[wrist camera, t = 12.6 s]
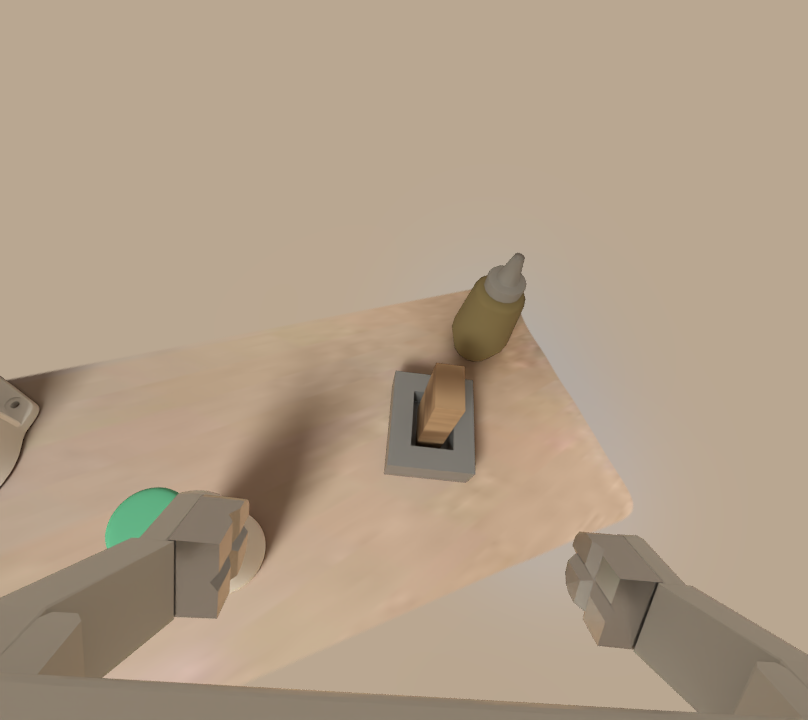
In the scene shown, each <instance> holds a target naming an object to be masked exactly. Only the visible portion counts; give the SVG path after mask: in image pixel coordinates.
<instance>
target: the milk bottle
mask: <svg viewBox="0 0 808 720" xmlns="http://www.w3.org/2000/svg"><path fill="white" fill-rule="evenodd" d="M188 493H198V494H204V495H205V494H208V495H216V496H222V495H219V494H217V493H213V492H209V491H188ZM178 494H179V493H178V492H176V491H173V490H171V489H168V488H161V487H159V488H149V489H145V490H142V491H139V492H137V493H135V494H133V495H132V496H130V497H129V498H127V499H126V500H125V501H124V502H122V503H121V504H120V505H119V507H118V508H117V509H116V510H115V512H114V513H113V515H112V516H111V518H110V520H109V522H108V525H107V528H106V534H105V542H106V547H107V549H108V548H110V547H112V546H115V545H117V544H119V543H121V542H123V541H126V540H128V539H130V538H140V537H141V536H142V534H143V533H144V532H145V531H146V530H147V529H148V528H149V526H150V525H151V524H152V523H153V522H154V521H155V520H156V518H157V517H158V516H159V515H160V514H161V513H162V512H163V510H164V509H165V508H166V507H167V506H168V505H169V504H170V502H171V501H172V500H173V499H174V498H175V497H176V496H177V495H178ZM244 527H245V528H246V529H247V531H248V540H247V547H246V552H245V556H244V559H243V562H242V565H241V568H240V570H239V572H238V574H237V576H235V577H234V578H233V579H231V580H230V592H229V593H232V592H234V591H236V590H238V589H240V588H242V587H243V586H245V585H246V584H247V583H248V582H249V581H250V580H251V579H252V578H253V577H254V576H255V574H256V573H257V572H258V570H259V568H260V566H261V564H262V562H263V559H264V555H265V549H266V542H265V536H264V533H263V530H262V528H261V526H260V525H259V524H258V522H257V521H256V520H255V519H254V518H253V517H251V516H250V515H249V516H248V518H247V520H246V522H245V524H244Z"/></svg>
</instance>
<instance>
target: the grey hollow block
mask: <svg viewBox="0 0 808 720" xmlns="http://www.w3.org/2000/svg"><path fill="white" fill-rule="evenodd" d="M430 377H431V375H426V374H418V373H410V372H402V371H396V372H395V376H394V380H393V384H392V394H391V405H390V416H389V426H388V437H387V448H386V459H385V469H384V474H388V475H397V476H407V477H417V478H426V479H436V480H445V481H455V482H465V483H466V482H467V481H468V480H469V479H470V478H472V477H473V476H474V475H475V445H474V404H473V380H466V379H465V412H464V414H463V415H462V417H461V418H460V420H459V421H458V423H457V424H456V425H455V427H454V428H453V430H452V431H451V433H450V434H449V436H448V437H447V439H446V440H445V442H444V443H443V445H442V446H441V447H440V449H437V448H428V447H419V446H415V445H416V426H417V409H418V406H419V404H420V401H421V399H422V397H423V394H424V392H425V389H426V387H427V384H428V382H429V379H430Z"/></svg>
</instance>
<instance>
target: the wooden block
mask: <svg viewBox="0 0 808 720" xmlns="http://www.w3.org/2000/svg"><path fill="white" fill-rule="evenodd" d="M464 412H465V366H458V365H450V364H442V363H436V365H435V367H434V370H433V372H432V375H431V377H430V379H429V382H428V384H427V387H426V389H425V392H424V394H423V397H422V399H421V401H420V404H419V406H418V409H417V426H416V445H415V446H419V447H428V448H437V449H440V447H441V446H442V445H443V443H444V442H445V440H446V439H447V437H448V436H449V434H450V433H451V431H452V430H453V428H454V427H455V425H456V424H457V423H458V421H459V420H460V418H461V417H462V415H463V414H464Z"/></svg>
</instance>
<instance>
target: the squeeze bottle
mask: <svg viewBox="0 0 808 720" xmlns="http://www.w3.org/2000/svg"><path fill="white" fill-rule="evenodd" d="M524 259H525V258H524V256H523V255H522V254H520V253H516V254H515V255H514V256H513V257H512V258H511V259H510V261H509V262H508V263H507V264H506V265H505V266H497V267H494V268H492V269H491V271H489V273H488V275H487V276H484V277H481V278H480V279H479V280H478V281H477V282H476V283H475V285H474V287H473V288H472V290H471V292H470V293H469V295H468V297H467V298H466V300H465V302H464V303H463V305H462V307H461V308H460V310H459V312H458V313H457V315H456V317H455V318H454V322H453V325H452V330H453V339H454V345H455V349H456V350H457V352H458V353H459V354H460V355H461V356H462V357H464V358H465V359H468V360H470V361H482V360H485V359H487V358H489V357H491V356H493V355H495V354H497V353H499V352H500V351H501V350H502V349H503V348H504V347H505V346H506V344H507V342H508V340H509V338H510V336H511V333H512V331H513V329H514V327H515V325H516V322H517V320H518V318H519V316H520V314H521V312H522V309H523V307H524V303H525V296H524V293H523V292H524V290H525V288H526V281H525V278H524V276H523V275H522V274H521V271H522V267H523V263H524Z"/></svg>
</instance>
